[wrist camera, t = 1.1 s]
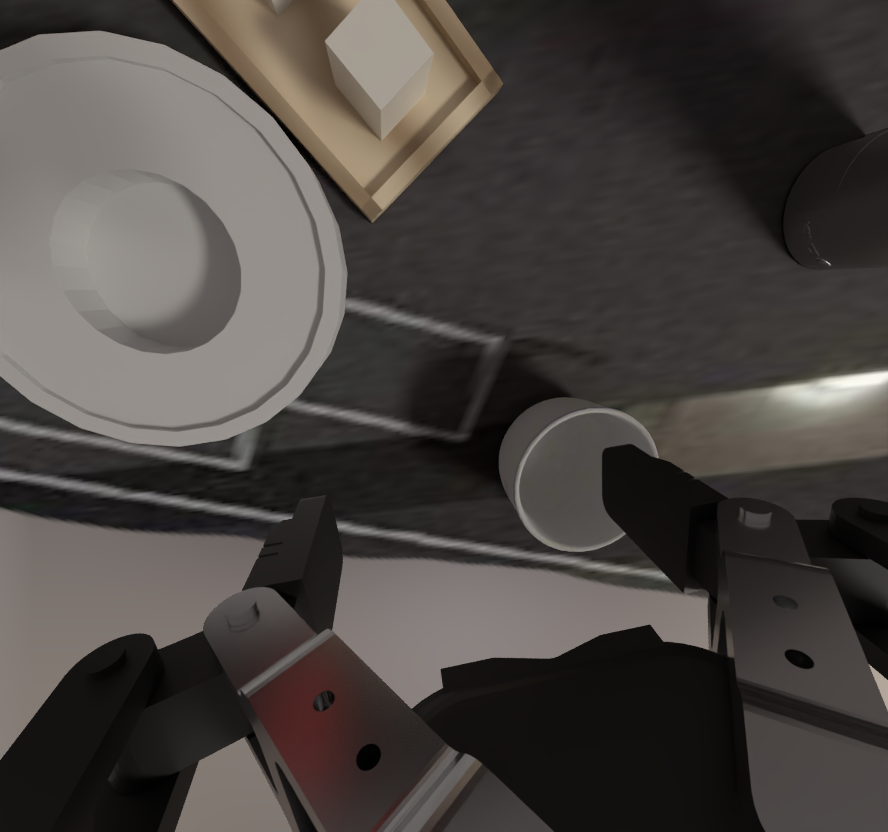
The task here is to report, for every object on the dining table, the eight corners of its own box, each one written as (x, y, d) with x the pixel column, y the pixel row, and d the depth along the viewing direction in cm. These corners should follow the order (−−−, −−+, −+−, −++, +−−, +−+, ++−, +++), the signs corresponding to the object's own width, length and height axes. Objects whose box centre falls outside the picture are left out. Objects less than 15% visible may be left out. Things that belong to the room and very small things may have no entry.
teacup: (465, 472, 36) (487, 521, 28) (529, 361, 34) (571, 383, 26) (590, 528, 40) (639, 585, 32) (655, 431, 37) (724, 468, 30)
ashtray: (-77, 52, 24) (-164, 8, 20) (337, 83, 27) (329, 49, 23) (36, 433, 31) (-13, 453, 27) (355, 422, 34) (352, 439, 30)
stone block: (380, 35, 26) (379, -21, 21) (424, 94, 27) (433, 53, 22) (335, 85, 26) (324, 41, 21) (381, 141, 27) (381, 110, 23)
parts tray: (285, -209, 22) (278, -240, 21) (497, 92, 28) (503, 83, 27) (142, -31, 24) (128, -50, 22) (372, 223, 29) (371, 220, 28)
